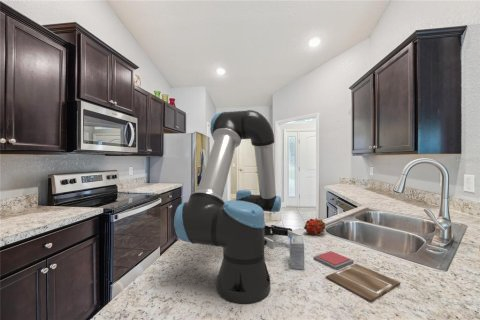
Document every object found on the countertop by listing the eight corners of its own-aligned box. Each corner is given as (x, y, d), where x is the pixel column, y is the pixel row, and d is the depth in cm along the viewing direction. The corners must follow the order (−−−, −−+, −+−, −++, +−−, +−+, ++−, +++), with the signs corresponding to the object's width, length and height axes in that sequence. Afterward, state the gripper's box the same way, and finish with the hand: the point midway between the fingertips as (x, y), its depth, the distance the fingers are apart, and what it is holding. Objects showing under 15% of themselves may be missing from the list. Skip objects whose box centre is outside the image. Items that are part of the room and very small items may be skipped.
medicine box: (304, 270, 68) (304, 243, 68) (290, 269, 69) (290, 242, 69) (302, 259, 76) (302, 235, 76) (289, 258, 77) (289, 234, 77)
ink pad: (335, 270, 68) (335, 266, 68) (313, 259, 76) (313, 255, 76) (353, 263, 73) (353, 259, 73) (330, 253, 81) (330, 250, 81)
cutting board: (370, 302, 52) (370, 299, 52) (326, 278, 63) (326, 275, 63) (400, 284, 60) (400, 281, 60) (356, 265, 72) (356, 263, 72)
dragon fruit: (327, 237, 104) (305, 242, 102) (318, 223, 111) (297, 227, 109) (332, 226, 99) (309, 231, 97) (322, 212, 106) (300, 217, 104)
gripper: (275, 230, 102) (310, 245, 84) (230, 240, 89) (260, 259, 71) (275, 215, 102) (310, 226, 84) (230, 222, 89) (260, 237, 71)
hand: (287, 241), depth 77 cm, fingers open, 13 cm apart
